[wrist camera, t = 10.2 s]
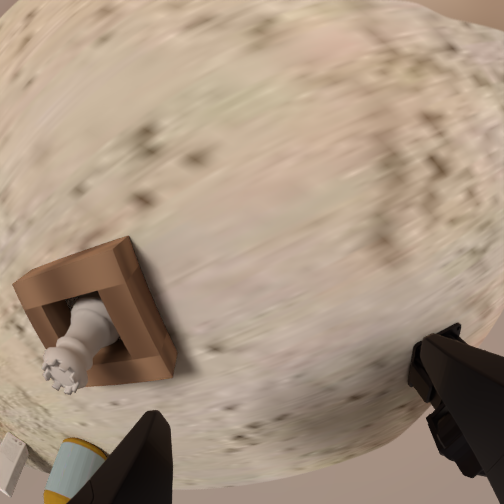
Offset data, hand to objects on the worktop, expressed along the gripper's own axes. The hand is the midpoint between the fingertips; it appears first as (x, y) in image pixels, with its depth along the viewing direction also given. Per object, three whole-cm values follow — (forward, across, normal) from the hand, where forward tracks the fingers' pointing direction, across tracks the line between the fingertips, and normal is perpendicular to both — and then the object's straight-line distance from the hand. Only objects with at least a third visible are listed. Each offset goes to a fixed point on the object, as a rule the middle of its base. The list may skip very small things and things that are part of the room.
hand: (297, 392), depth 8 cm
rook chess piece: (+12, +13, +1) cm, 18 cm away
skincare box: (+12, +49, +23) cm, 55 cm away
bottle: (+12, +29, +21) cm, 38 cm away
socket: (+12, +13, +1) cm, 18 cm away
